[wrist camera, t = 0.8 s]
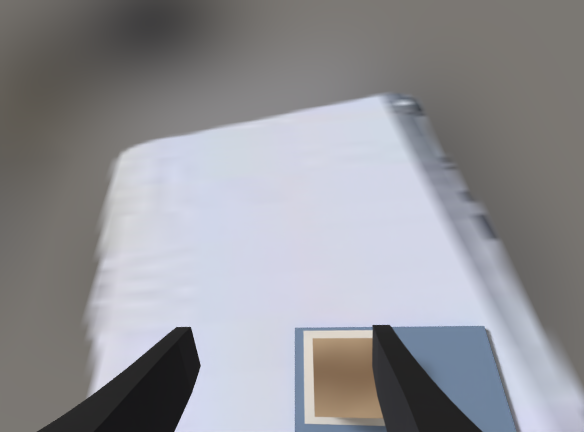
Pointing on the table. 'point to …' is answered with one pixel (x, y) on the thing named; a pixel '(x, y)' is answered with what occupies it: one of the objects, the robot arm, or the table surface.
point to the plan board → (433, 359)
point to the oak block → (344, 378)
